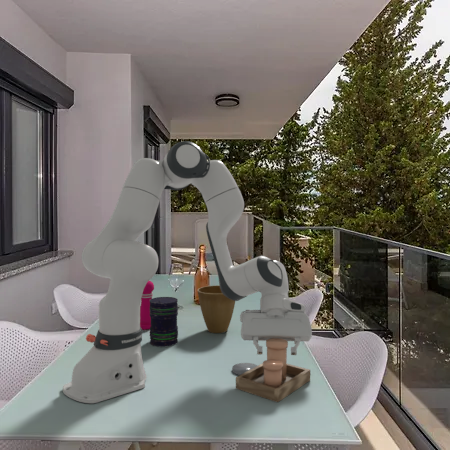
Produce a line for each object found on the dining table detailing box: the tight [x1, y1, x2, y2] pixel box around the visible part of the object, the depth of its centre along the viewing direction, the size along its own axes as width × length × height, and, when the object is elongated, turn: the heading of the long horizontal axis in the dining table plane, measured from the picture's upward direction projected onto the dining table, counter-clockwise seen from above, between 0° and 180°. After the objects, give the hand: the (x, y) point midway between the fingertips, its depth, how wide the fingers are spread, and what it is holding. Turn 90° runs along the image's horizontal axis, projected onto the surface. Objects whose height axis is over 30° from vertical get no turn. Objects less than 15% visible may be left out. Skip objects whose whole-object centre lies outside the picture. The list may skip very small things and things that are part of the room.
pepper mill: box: [140, 280, 155, 331], centre depth 173 cm, size 7×7×20 cm
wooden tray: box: [235, 362, 311, 403], centre depth 121 cm, size 17×13×3 cm
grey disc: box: [231, 362, 258, 376], centre depth 130 cm, size 8×8×1 cm
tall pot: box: [265, 338, 289, 380], centre depth 123 cm, size 6×6×10 cm
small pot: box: [262, 359, 283, 388], centre depth 115 cm, size 5×5×7 cm
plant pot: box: [197, 284, 236, 334], centre depth 169 cm, size 15×15×16 cm
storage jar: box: [149, 296, 179, 348], centre depth 155 cm, size 10×10×15 cm
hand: (276, 353), depth 124 cm, fingers open, 8 cm apart
